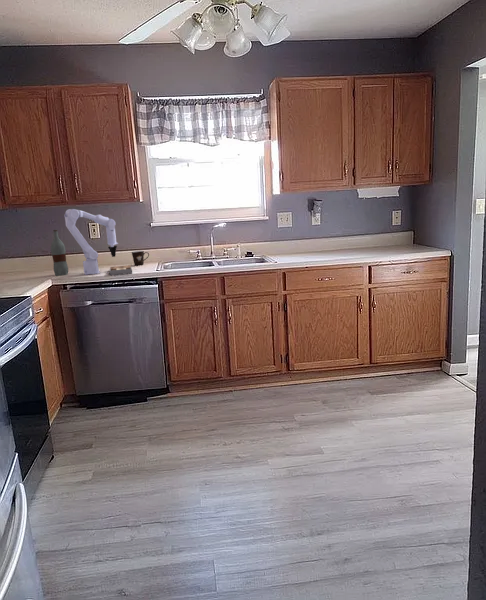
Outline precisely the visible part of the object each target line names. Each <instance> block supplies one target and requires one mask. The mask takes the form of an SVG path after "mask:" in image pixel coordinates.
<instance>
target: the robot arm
mask: <svg viewBox="0 0 486 600" xmlns="http://www.w3.org/2000/svg"><path fill="white" fill-rule="evenodd" d="M79 218H84V219H88V220H91V221H93V222H94V223H95V224H98V225H101V226H104V227H105V231H106V232H105V233H106V240H107V245H109V246H108V249H109V252H110V255H111V258H115V257H116V252H117V247H118V246H117V245H119V242H117V236H116V235H117V234H116V224H117V223H116V221H115V220H114V219H113V218H109V217H108V216H103V215H102V214H100V213H99V214H96V215H95V214H91V213H89V212H86V211H84V210H80V209H76V208H69V209H66V211H65V213H64V221H65V227H66V228H67V230H68V231H69V232H70V234H71V236H72V237H73V239H74V240H75V241H76V242H77V244H78V245H79V247H80V248H81V249H82V250H81V251H82V253H83V255H84V258H85V260H83V261H82V265H83V273H84V275H85V276H86V275H97V274H100V272H101V271H100V270H99V262H98V258H99V252H98V251H96V250H94V248H93V247H92V246H91V245H90V244H89V243H88V241H87V240H86V238H85V237H84V236H83V234H82V233H81V232H80V230H79V229H78V228H77V226H76V224H77V220H78V219H79Z"/></svg>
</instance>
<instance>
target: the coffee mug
mask: <svg viewBox="0 0 486 600" xmlns="http://www.w3.org/2000/svg"><path fill="white" fill-rule="evenodd" d="M145 254H147V255H148V256H146V258H144V256H145ZM131 256H132V260H133V265H134V266H135V267H137V266H144V261H147V259H148V258H149V256H150V254H149V252H147V251H145V252H144V250H132V251H131Z"/></svg>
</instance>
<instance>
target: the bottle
mask: <svg viewBox="0 0 486 600" xmlns="http://www.w3.org/2000/svg"><path fill="white" fill-rule="evenodd" d="M53 236H54V237H53V240H52V242H51V244H50V253H51V257H52V261H53V272H54V275H55V276H56V277H58V276H60V277H61V276H66V275H69V266H68V263H67V256H66V255H67V254H66V252H67V251H66V246H65V243H64V242H63V241H62V240H61V239H60V238H59V232H58V229H53Z"/></svg>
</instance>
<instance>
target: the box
mask: <svg viewBox="0 0 486 600" xmlns="http://www.w3.org/2000/svg"><path fill="white" fill-rule="evenodd" d="M132 268H133V267H132V266H131V269H124V270H113V271H111V269H110V268H109V276H119V275H120V276H121V275H131V274H133V269H132Z"/></svg>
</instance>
